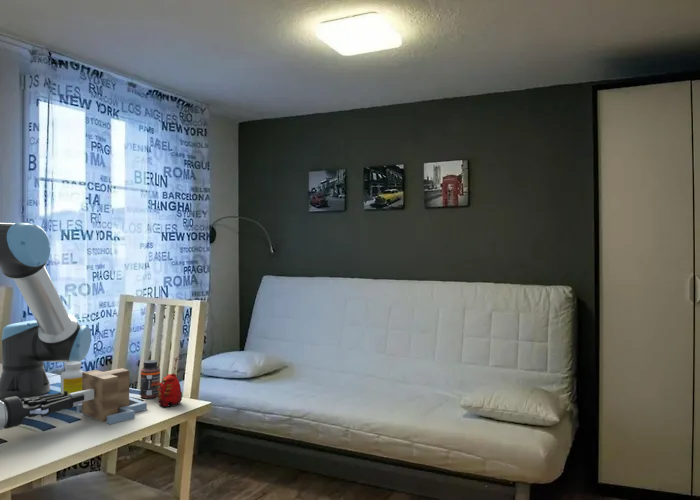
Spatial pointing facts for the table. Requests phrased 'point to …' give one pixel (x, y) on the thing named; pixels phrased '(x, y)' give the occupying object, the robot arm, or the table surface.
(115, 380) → the tee block
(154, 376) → the supplement bottle
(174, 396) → the red clay folk toy
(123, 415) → the tee dock
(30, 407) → the robot arm
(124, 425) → the table surface
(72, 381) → the supplement bottle
